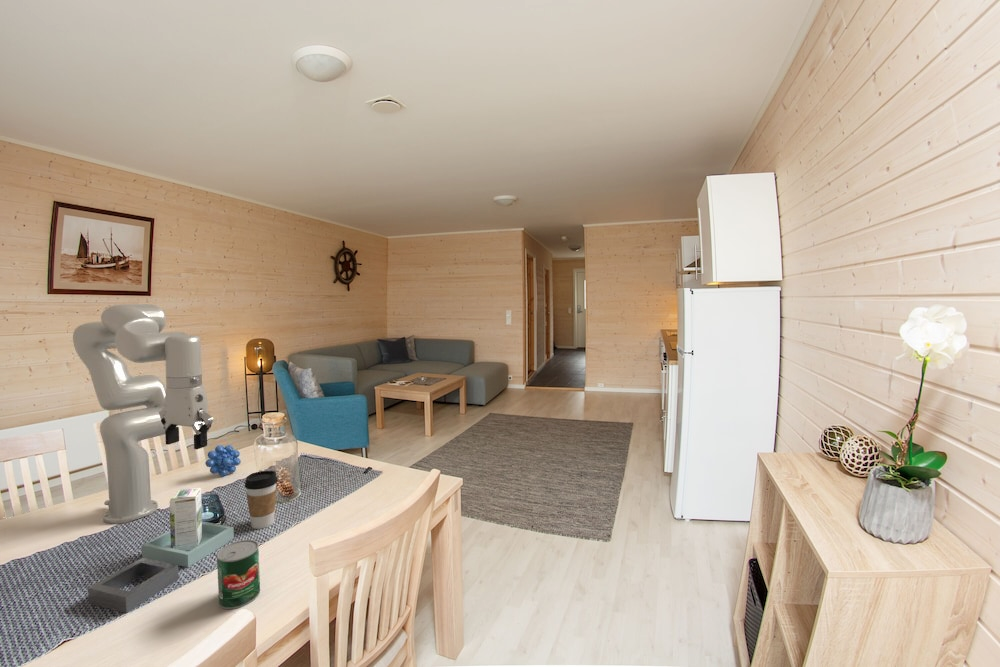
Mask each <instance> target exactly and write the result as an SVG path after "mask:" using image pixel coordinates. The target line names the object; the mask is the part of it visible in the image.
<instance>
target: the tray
mask: <svg viewBox="0 0 1000 667" xmlns="http://www.w3.org/2000/svg"><path fill="white" fill-rule="evenodd" d="M234 529H235V528H234V526H230V525H223V524H220V523H214V522H208V521H207V522H206V521H203V520H202V539H201V541H200V544H199V546H197V547H196V548H194V549H192V550H188V551H183V550H178V549H173V548H171V534H170V529H169V530H167V531H166V532H164V533H162V534H160V535H158V536H157V537H155V538H153V539H151V540H149V541H147V542H145V543H143V544H141V556H142V557H141V558H147V559H151V560H156V561H160V562H165V563H170V564H174V565H178V567H179V566H180V567H185V568H190V567H192V566H193V565H195V564H196V563H198V562H199V561H201V560H202V559H204V558H206V557H207V556H209V555H211V553H214V552H215V551H217V550H218V549H220V548H222V547H224V545H226V544H228V543H229V542H232V540H233V539H234V538H235V534H234V533H235V531H234Z"/></svg>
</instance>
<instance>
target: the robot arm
mask: <svg viewBox="0 0 1000 667" xmlns="http://www.w3.org/2000/svg"><path fill="white" fill-rule="evenodd" d="M100 320H101V321H93V322H87V323H83V324H80V325H78V326H77V327H76V328H74V331H73V334H72V341H73V342H72V343H73V347H74V351H75V352H76V354H77V356H78V357H79V359H80V360H81V362H82V363H83V364H84V365H85V367H86V368H87V370H88V371H89V374H90V378H91V381H92V384H93V389H94V392H95V394H96V397H97V401H98V403H99V405H100V407H101V408H102V410H103V409H104V410H105V411H117V410H124V409H130V410H126V411H121V412H117V413H114V414H111V415H108V416H107V417H105V418H103V420H102V421H101V422H100V425H99V432H100V436H101V440H102V443H103V446H104V451H105V458H106V459H105V460H106V471H107V486H108V488H107V489H108V500H107V499H106V500H105V501H104V502H103V503H104V504H103V505H105V506H108V510H107V511H106V512H105V513H103V516H102V520H103V522H105V523H107V524H121V523H127V522H132V521H136V520H138V519H141V518H144V517H145V516H148V515H150V514H152V513H153V512H154V511H156V510H157V509H158V506H159V505H158V501H156V500H154V499H152V495H151V477H150V460H149V453H148V450H147V449H145V448H144V447H142V446H141V445H139V443H138V442H140V441H143V440H148V439H152V438H156V437H160V436H165V438H164V439H165V445H171V444H175V443H178V442H179V441H180V427H181V426H182V427H189V428H191V429H192V430H193V431H194V433H195V434H193V449H194V450H200V449H203V448H206V447H207V446H208V432H209V431H210V428H211V427H212V424H213V421H214V417H213V416H212V415H210V414H209V406H208V405H209V403H208V397H207V392H206V389H205V386H203V373H202V372H203V368H202V367H203V366H202V341H201V338H200V337H199V336H198V335H195V334H189V333H187V332H183V331H171V332H170V331H169V332H165V331H164V332H162V331H163V329H164V328H165V327H166V325H167V324H166V323H167V316H166V313H165V311H164V310H163V309H162V308H161V307H160V306H158V305H156V304H150V303H149V304H143V303H140V304H134V303H133V304H124V303H123V304H116V305H115V304H114V305H111V306H109V307H107V308H105V310H103V311H102V313H101V315H100ZM112 349H113V350H115V349H116V350H117V351H118V354H119V355H121V356H122V357H124V359H126V360H128V361H129V362H133V363H135V364H136V363H137V364H144V363H154V362H163V361H165V363H164V365H165V384H164V382H163V381H162V380H161V378H160V377H159V376H156V375H153V374H145V375H143V374H142V375H136V376H132V375H131V374H130V373H129V372H130V371H129V370H128V365H127V363H126V362H125V361H124V360H123V359H122V358H121V357H119V356H118V355H117V354H115V353H113V352H111V351H109V350H112ZM165 386H166V387H165ZM141 406H145V407H144V408H139V409H132V410H131V408H135V407H141ZM179 426H180V427H179ZM199 426H200V427H199Z"/></svg>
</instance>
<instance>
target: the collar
mask: <svg viewBox="0 0 1000 667" xmlns="http://www.w3.org/2000/svg"><path fill="white" fill-rule="evenodd" d="M139 578H146V580H145V581H142V582H140V584H138V585H136V586H135V587H133V588H132V589H130V590H125V589H123V588H124V587H126V586H127V585H130V584H131V583H132V582H135V581H136V580H138V579H139ZM178 580H179V565H175V564H170V563H165V562H161V561H156V560H152V559H147V558H143V557H141V558H139V559H138V560H136V561H134V562H132V563H131V564H128V565H127V566H124V567H123V568H121V569H119V570H118V571H116V572H114V573H112V574H110V575H108V576H106V577H104V578H103V579H100V580H99V581H97V582H95V583H94V584H92V585H90V586H88V587H87V595H88V596H87V597H88V604H91V605H95V606H99V607H103V608H107V609H110V610H114V611H118V612H121V613H125V614H127V613H130V612H131V611H132V610H134V609H135V608H137V607H139V606H140V605H141V604H143V603H145V602H147V600H149V599H150V598H152V597H153V596H155V595H157V594H159V593H161V591H163V590H164V589H166V588H168V587H169V586H171V585H173V584H174V583H175V582H177V581H178Z"/></svg>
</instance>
